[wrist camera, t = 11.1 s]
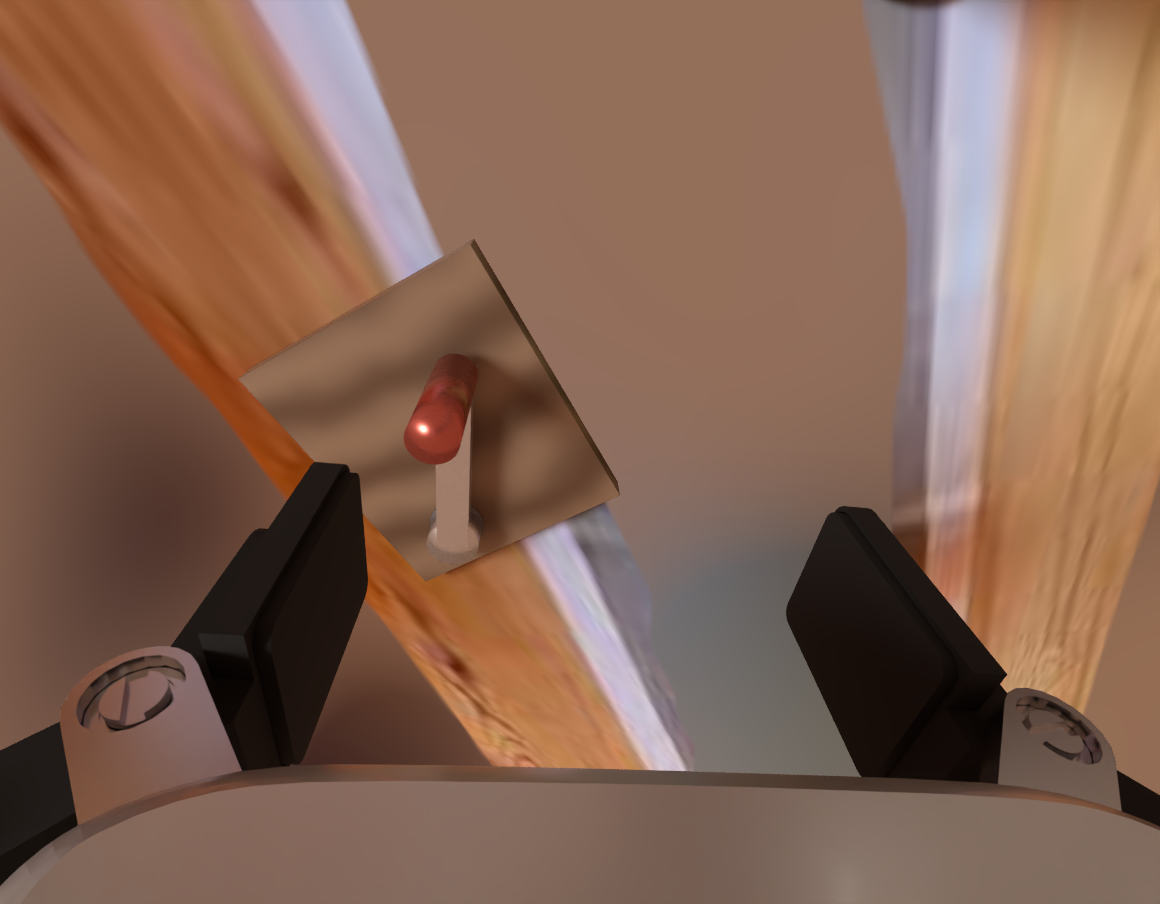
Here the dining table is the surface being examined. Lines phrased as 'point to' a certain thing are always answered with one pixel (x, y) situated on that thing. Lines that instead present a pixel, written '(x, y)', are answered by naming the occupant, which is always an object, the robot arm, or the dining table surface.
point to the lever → (448, 455)
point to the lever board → (392, 390)
